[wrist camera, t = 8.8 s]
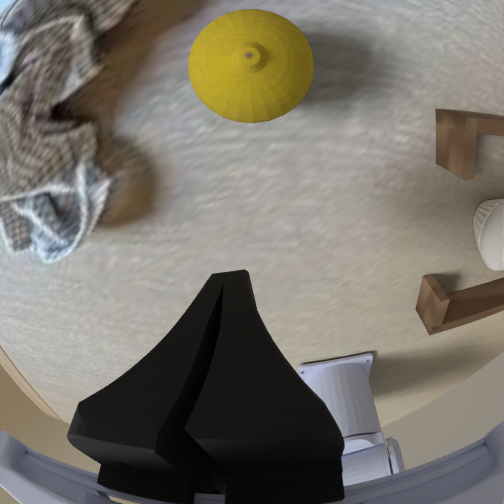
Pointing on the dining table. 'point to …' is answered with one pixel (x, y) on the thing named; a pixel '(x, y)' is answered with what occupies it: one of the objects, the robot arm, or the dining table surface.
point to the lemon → (251, 66)
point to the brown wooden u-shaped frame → (463, 165)
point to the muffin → (490, 232)
